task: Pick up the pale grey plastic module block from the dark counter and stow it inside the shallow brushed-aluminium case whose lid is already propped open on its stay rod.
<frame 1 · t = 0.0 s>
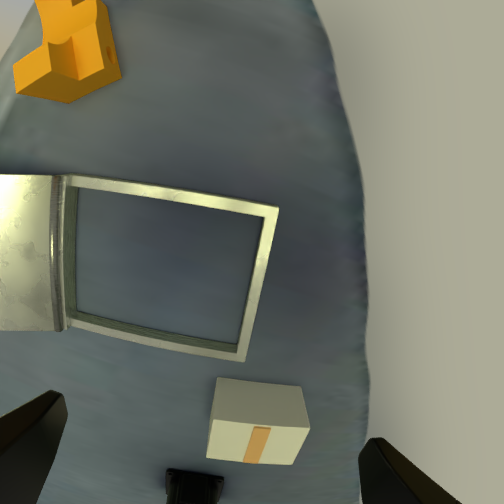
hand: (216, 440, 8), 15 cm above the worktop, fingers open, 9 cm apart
case: (156, 268, 22), on the worktop
module: (253, 402, 26), on the worktop
pipe clamp: (83, 25, 16), on the worktop
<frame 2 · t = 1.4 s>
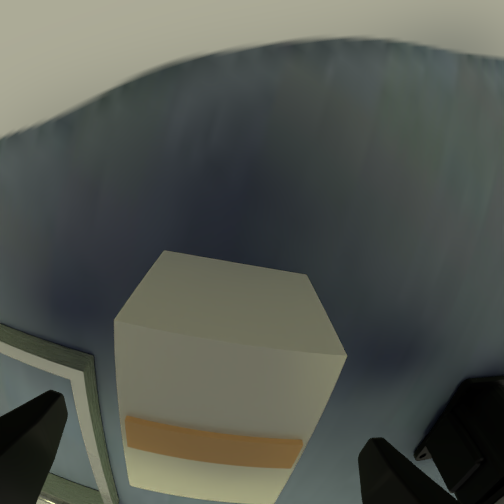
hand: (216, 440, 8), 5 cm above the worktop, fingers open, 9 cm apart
case: (25, 419, 14), on the worktop
module: (220, 345, 12), on the worktop
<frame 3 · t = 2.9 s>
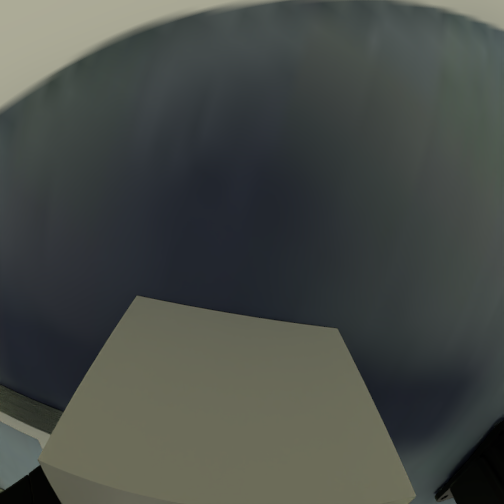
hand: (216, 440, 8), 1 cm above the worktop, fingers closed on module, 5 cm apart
case: (3, 459, 10), on the worktop
module: (218, 414, 9), on the worktop, touching gripper
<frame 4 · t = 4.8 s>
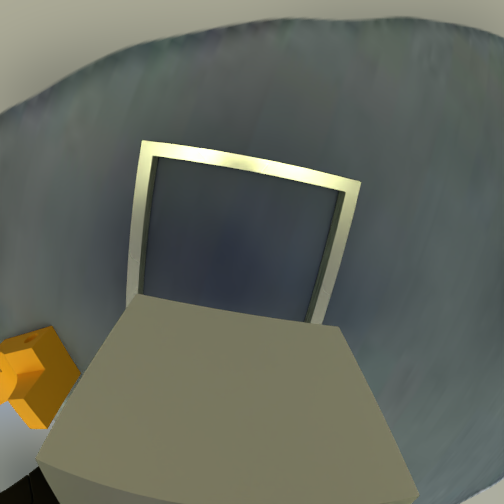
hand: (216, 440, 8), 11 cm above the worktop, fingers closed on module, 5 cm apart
case: (228, 282, 19), on the worktop
module: (218, 413, 8), point 10 cm above the worktop, touching gripper
pipe clamp: (22, 358, 21), on the worktop
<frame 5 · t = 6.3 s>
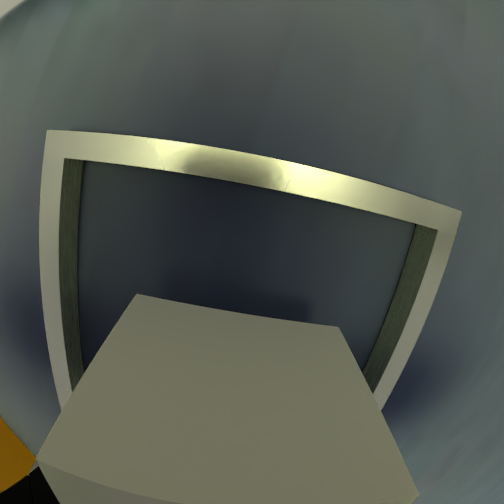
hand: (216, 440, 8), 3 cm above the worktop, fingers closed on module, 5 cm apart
case: (218, 378, 10), on the worktop
module: (218, 413, 8), point 2 cm above the worktop, touching gripper
when the fingers open (2 cm above the worktop, at t = 7.2 s): module drops 2 cm, resting in case.
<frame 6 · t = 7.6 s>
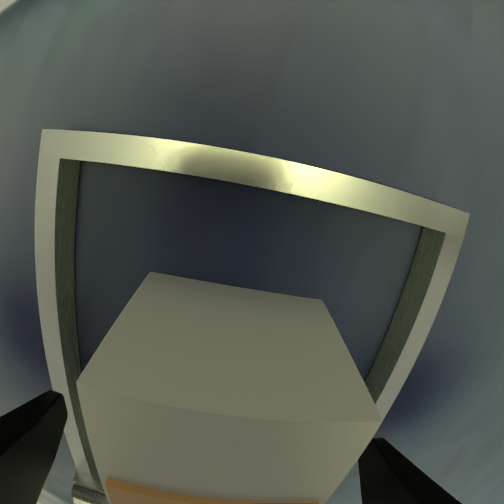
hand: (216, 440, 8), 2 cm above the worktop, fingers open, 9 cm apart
case: (219, 384, 10), on the worktop
module: (219, 379, 10), resting in case
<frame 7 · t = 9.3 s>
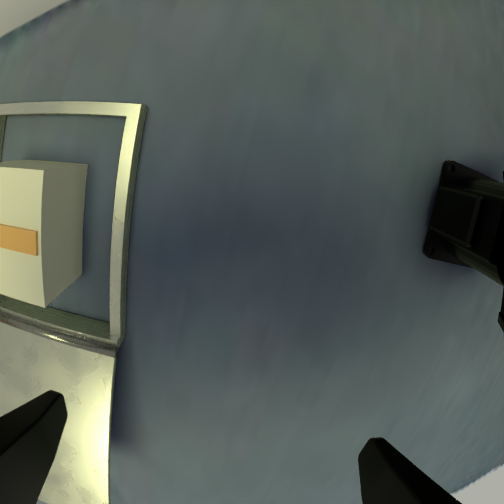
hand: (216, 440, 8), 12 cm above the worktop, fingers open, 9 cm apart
case: (51, 217, 17), on the worktop
module: (52, 216, 17), resting in case
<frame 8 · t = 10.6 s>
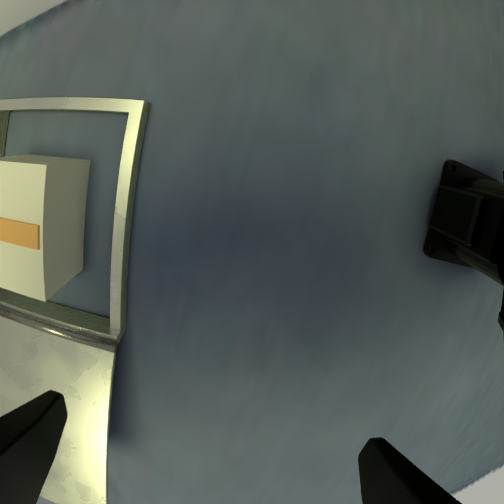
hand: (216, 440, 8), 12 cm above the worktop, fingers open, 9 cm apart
case: (52, 212, 17), on the worktop
module: (54, 211, 18), resting in case
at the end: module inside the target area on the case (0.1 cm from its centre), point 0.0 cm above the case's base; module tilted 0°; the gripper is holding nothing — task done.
